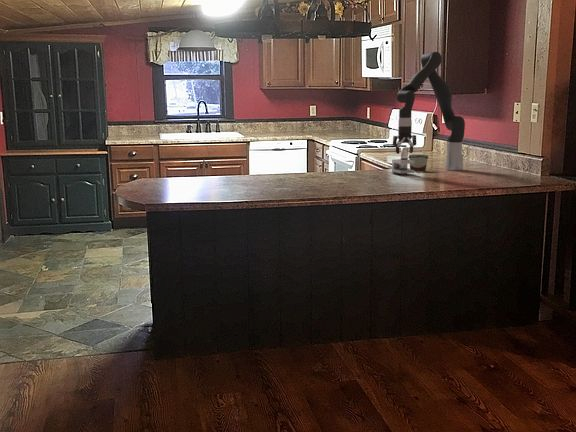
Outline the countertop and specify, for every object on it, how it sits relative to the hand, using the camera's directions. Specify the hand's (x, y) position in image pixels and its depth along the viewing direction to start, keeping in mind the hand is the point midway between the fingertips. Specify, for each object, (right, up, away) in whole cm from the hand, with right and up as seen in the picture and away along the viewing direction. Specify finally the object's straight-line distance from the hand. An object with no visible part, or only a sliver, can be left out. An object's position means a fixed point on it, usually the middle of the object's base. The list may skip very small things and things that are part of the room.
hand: (404, 153), depth 380 cm
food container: (+12, -9, +21) cm, 26 cm away
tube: (0, -13, +3) cm, 13 cm away
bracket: (-1, -12, +4) cm, 13 cm away
